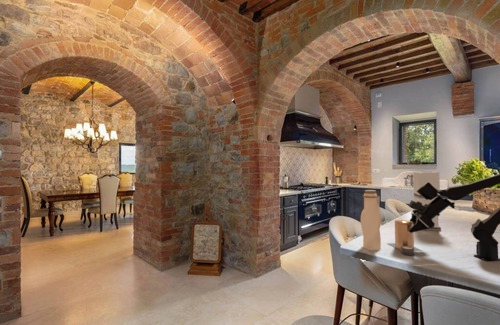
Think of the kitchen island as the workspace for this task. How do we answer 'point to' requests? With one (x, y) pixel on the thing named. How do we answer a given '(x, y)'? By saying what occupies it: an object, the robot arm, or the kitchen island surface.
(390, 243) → the slate mat
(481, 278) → the kitchen island surface
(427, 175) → the tall white column
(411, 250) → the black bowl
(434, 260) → the kitchen island surface
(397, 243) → the brown tapered cup
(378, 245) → the water bottle
